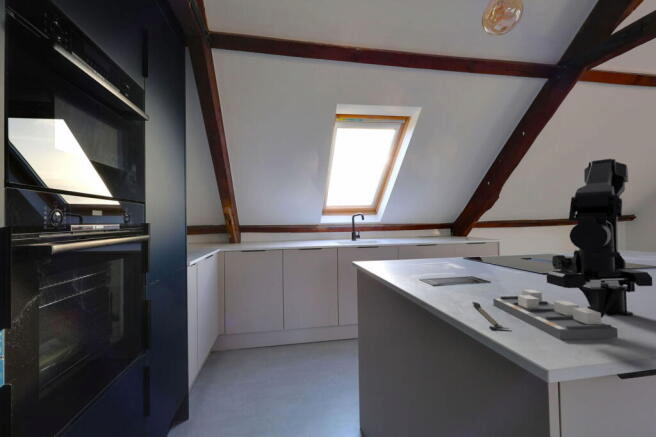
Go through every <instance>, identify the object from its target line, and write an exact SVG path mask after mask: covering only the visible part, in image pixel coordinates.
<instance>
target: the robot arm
mask: <svg viewBox="0 0 656 437" xmlns="http://www.w3.org/2000/svg"><path fill="white" fill-rule="evenodd" d="M583 171H584V172H583V173H584V182H583V183H585V185H584V186H581V187H579V188H577V189H576V190H575V193H574V196H571V198H570V207H569V214H568V221H569V222H577V224H576V225H574V226H573V227H572V228H571V230H570V233H569V240H570V241H571V243H572V244H573V246H575V247H576V248H578V249H577V250H575V249H574V251H573V256H572V257H566V256H565V255H564V254H563V255H558V254H557V255H553V256H552V259H551V263H552V267H553V269H554V270H550V271H548V273H547V274H546V284H551V285H553V286H554V285H555V286H558V287H562V288H565V289H579V290H580V291H581V292H582V294H583V295H584V296H585V298H586V301H587V302H588V303H587V304H589V306H587V307H586V308H588V309H591V310H594V311H597V312H600V313H601V319H602V318H604V316H605V315H606V316H631V315H632V316H633V315H634V312H632V311H629V310H628V303H627V293H631V292H632V293H634V292H635V291H636V286H638V287H652V286H653V277H652V275H651V274H650V273H649V272H647V271H641V270H636V269H635V270H634V269H631V268H629V267H627V262H626V260H625V259H624V258H623V257H622V256H621V254H620V251H619V249H618V246H619V245H618V243H619V241H618V239H619V238H618V221H619V220H618V218H622V216H623V215H622V214H623V199H622V198H621V197H620V196H621V195H622V194H623V193H624V191H625V189H626V183H629V171H628V166H627V164H625V163H622V162H619V161H616V159H615V158H605V159H604V158H603V159H596V160H592V161H590V162H588V165H587V167H585V168H584V170H583Z"/></svg>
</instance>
